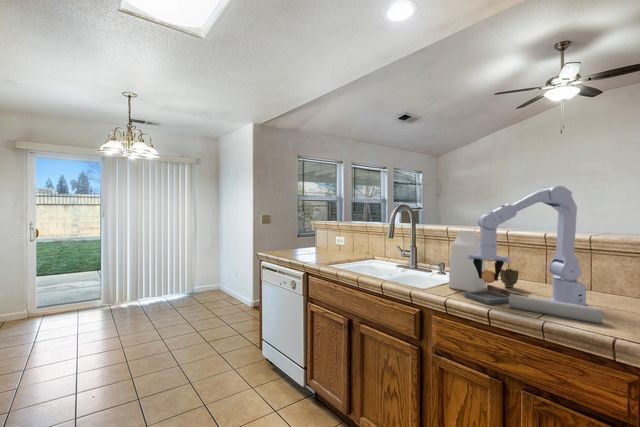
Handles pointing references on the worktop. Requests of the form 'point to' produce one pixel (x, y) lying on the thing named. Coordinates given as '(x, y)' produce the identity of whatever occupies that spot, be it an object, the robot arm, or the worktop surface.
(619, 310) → the worktop surface
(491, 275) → the egg
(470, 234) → the milk
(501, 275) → the cup
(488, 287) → the fence
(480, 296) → the tray
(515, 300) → the tube
